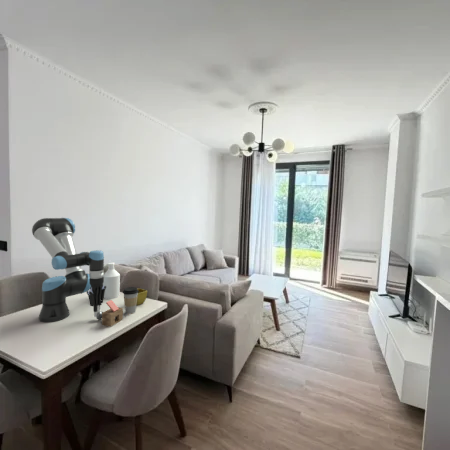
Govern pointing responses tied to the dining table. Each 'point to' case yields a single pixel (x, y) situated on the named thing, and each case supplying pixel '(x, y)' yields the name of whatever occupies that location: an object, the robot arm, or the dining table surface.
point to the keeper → (112, 305)
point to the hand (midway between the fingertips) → (96, 316)
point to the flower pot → (141, 296)
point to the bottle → (111, 282)
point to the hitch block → (112, 317)
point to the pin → (99, 316)
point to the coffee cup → (130, 299)
